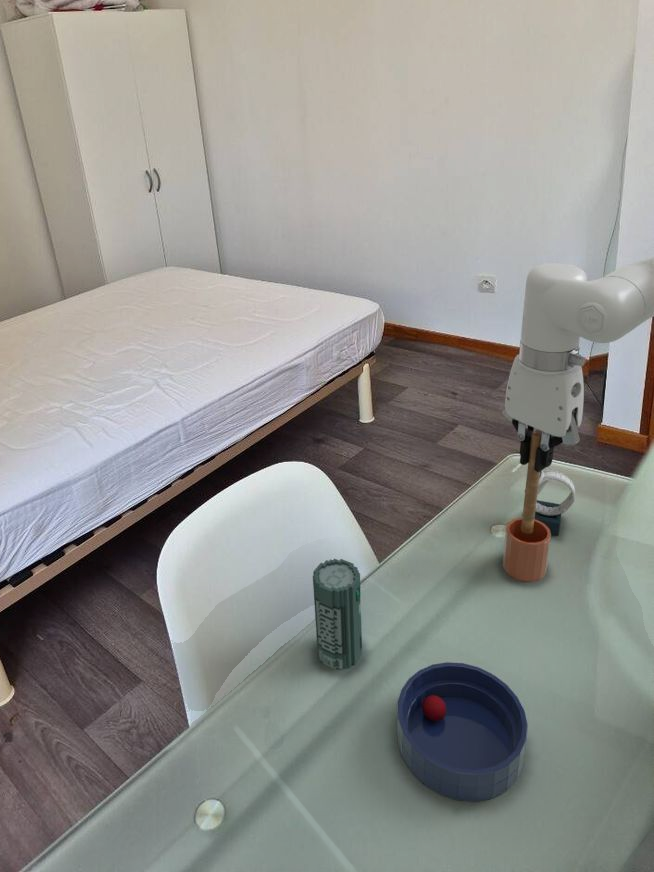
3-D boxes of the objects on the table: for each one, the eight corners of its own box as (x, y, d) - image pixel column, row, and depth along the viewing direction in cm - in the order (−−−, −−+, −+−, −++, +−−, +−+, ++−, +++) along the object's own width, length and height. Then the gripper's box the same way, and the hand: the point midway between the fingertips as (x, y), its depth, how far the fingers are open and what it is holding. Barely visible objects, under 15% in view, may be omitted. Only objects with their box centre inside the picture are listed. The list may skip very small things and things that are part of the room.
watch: (523, 511, 125) (528, 461, 120) (571, 520, 122) (578, 469, 117) (519, 530, 120) (525, 479, 116) (569, 540, 117) (576, 487, 112)
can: (368, 648, 100) (366, 568, 93) (348, 678, 96) (345, 597, 89) (332, 631, 103) (328, 553, 97) (311, 660, 99) (305, 580, 92)
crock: (553, 570, 111) (559, 531, 108) (529, 590, 108) (534, 550, 104) (518, 550, 116) (522, 512, 113) (494, 568, 113) (497, 529, 109)
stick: (535, 530, 108) (547, 432, 100) (528, 535, 107) (540, 437, 99) (525, 524, 110) (536, 428, 102) (518, 529, 109) (529, 432, 101)
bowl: (549, 750, 84) (553, 719, 82) (468, 832, 76) (471, 802, 74) (451, 671, 95) (452, 643, 93) (372, 737, 87) (371, 707, 85)
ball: (437, 686, 89) (432, 697, 91) (420, 698, 87) (415, 709, 89) (453, 706, 87) (447, 717, 89) (436, 719, 86) (430, 729, 87)
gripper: (617, 362, 91) (598, 477, 99) (515, 330, 103) (505, 435, 111) (585, 381, 87) (568, 498, 95) (483, 345, 99) (475, 453, 107)
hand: (534, 463), depth 103 cm, fingers closed on stick, 1 cm apart
